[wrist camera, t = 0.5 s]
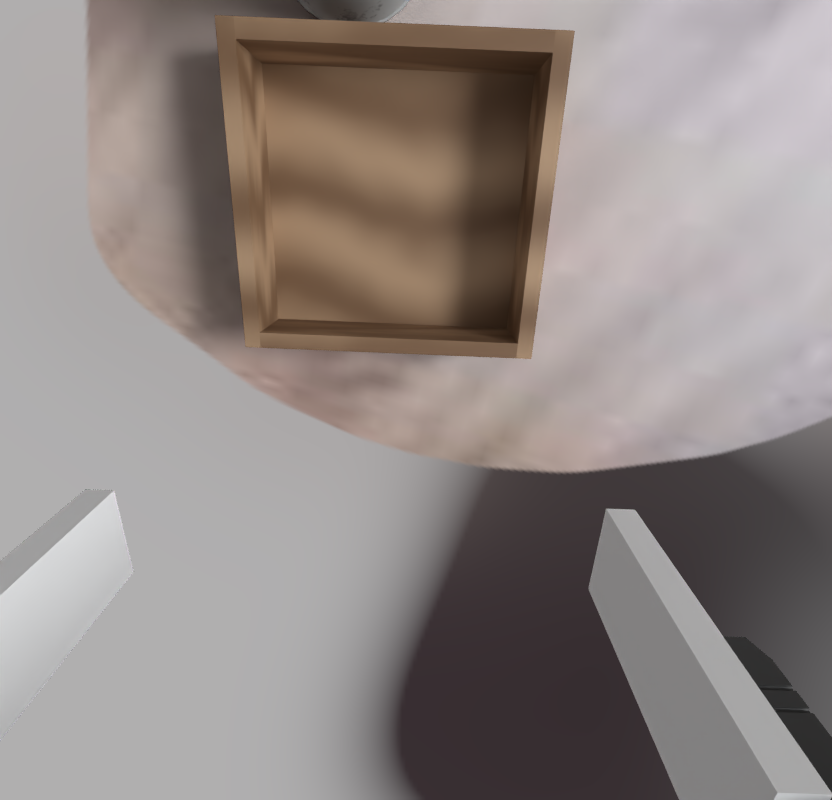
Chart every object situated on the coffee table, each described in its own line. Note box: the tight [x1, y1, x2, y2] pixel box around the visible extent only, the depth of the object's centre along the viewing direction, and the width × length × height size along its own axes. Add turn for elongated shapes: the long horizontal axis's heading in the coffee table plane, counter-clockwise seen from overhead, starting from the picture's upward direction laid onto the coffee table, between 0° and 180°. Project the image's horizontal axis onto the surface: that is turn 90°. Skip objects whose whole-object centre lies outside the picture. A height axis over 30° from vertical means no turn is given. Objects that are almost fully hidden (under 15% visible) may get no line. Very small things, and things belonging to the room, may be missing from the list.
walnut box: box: [215, 15, 575, 359], centre depth 31 cm, size 18×19×6 cm
